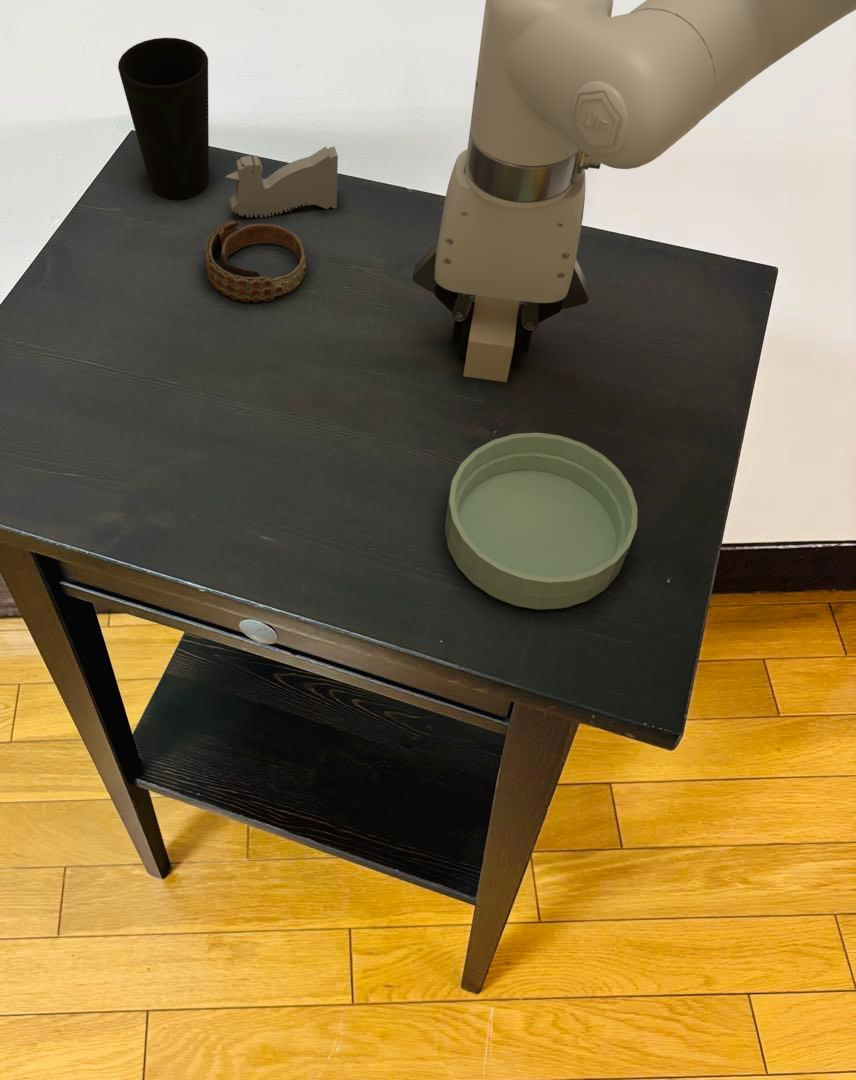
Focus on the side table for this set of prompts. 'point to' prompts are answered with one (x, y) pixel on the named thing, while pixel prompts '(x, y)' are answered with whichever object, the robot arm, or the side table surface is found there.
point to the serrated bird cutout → (285, 185)
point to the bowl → (540, 520)
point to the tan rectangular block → (491, 338)
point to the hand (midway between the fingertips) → (489, 348)
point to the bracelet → (246, 281)
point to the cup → (169, 113)
